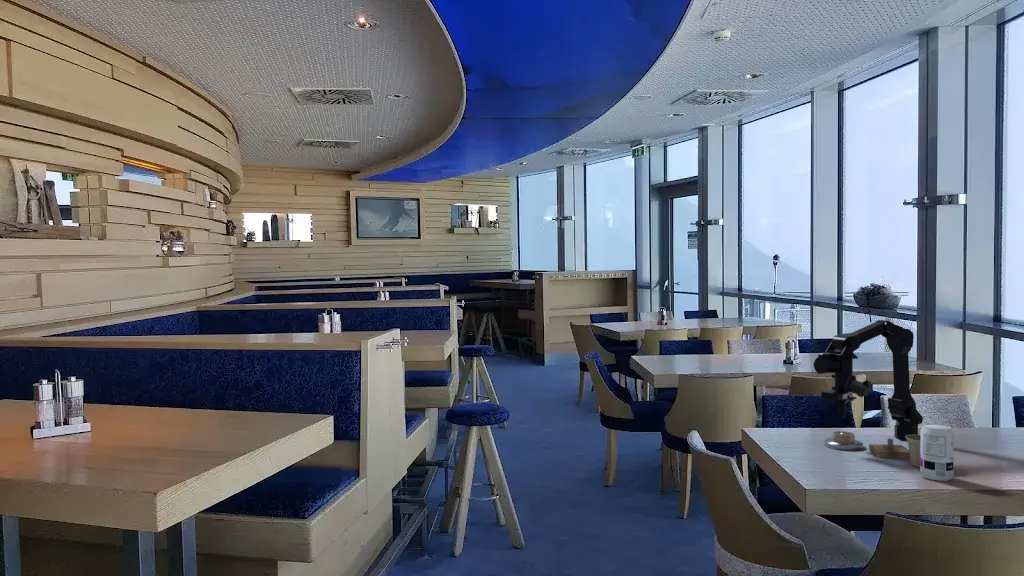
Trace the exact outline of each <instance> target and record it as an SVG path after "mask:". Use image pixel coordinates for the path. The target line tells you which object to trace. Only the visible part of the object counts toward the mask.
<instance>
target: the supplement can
mask: <svg viewBox="0 0 1024 576" xmlns="http://www.w3.org/2000/svg"><path fill="white" fill-rule="evenodd" d="M954 434H955V433H954V432H953V429H952V428H951V426H948V425H945V424H940V423H939V424H938V423H925V424H922V427H921V428H920V435H921V442H920V467H919V469H920V475H921V476H922V477H923V478H924V479H926V478H927V479H926V480H929V479H931V480H930V481H934V480H938V481H937V482H949V481H948V480H950V479H951V480H952V479H953V478H954V460H955V459H954V449H955V447H954V446H955V445H954V443H955V442H954V439H955V438H954ZM951 480H950V481H951Z"/></svg>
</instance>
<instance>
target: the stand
mask: <svg viewBox="0 0 1024 576" xmlns="http://www.w3.org/2000/svg"><path fill="white" fill-rule="evenodd" d="M868 450H869V452H871V453H872V454H874V455H875V456H876V457H878V458H879V459H880V458H881V459H904V460H906V459H910V453H909V448H907V447H906V446H904V445H902V444H894V439H893V438H887V444H885V443H883V444H881V443H880V444H879V443H878V444H877V443H869V444H868Z"/></svg>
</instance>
